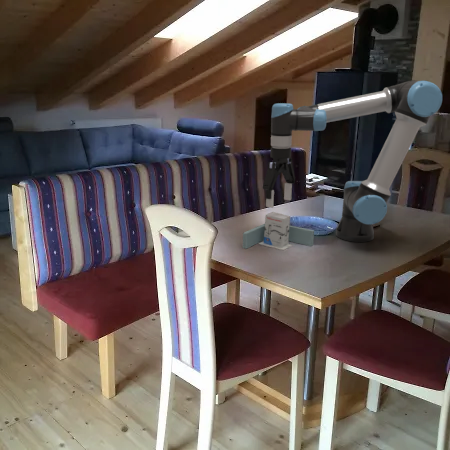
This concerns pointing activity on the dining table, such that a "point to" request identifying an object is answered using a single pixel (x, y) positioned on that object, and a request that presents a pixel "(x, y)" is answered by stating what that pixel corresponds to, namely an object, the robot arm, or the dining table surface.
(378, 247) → the dining table surface
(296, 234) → the teal angle bracket
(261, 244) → the pad
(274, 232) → the ink box
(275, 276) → the dining table surface
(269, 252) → the dining table surface
